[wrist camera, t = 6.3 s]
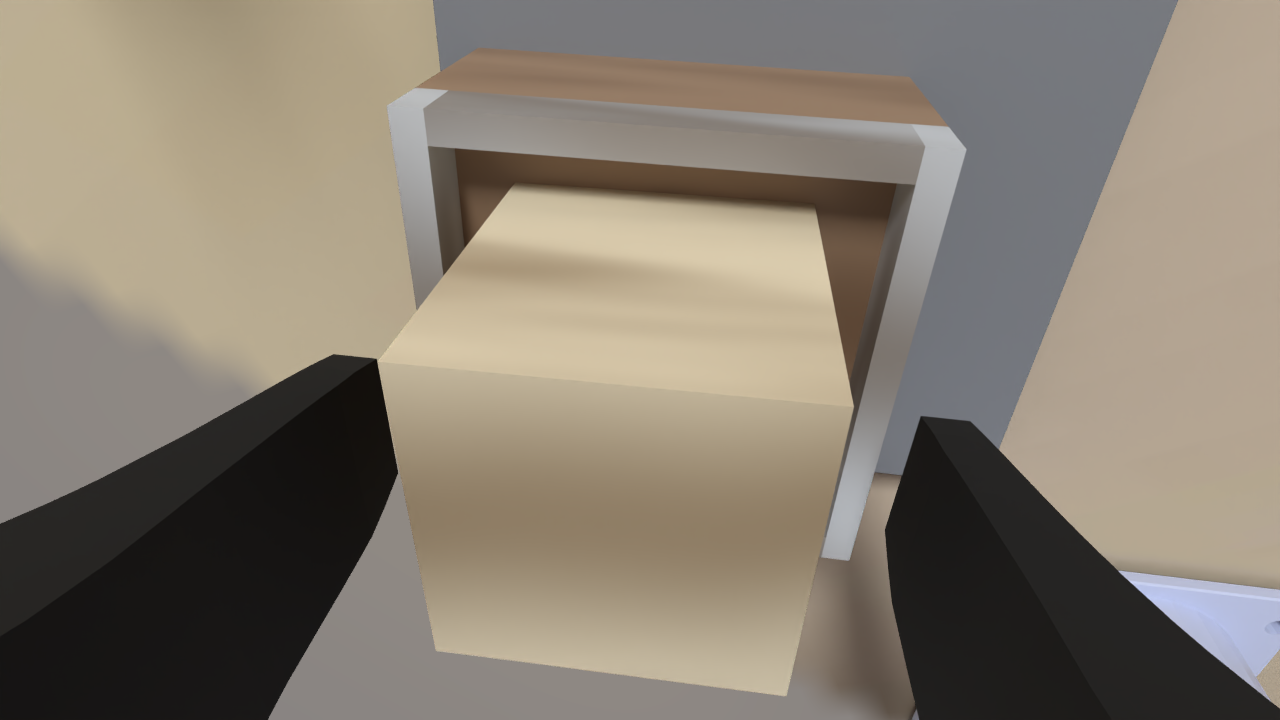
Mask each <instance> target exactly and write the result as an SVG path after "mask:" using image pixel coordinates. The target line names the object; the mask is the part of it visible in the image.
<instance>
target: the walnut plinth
mask: <svg viewBox="0 0 1280 720" xmlns="http://www.w3.org/2000/svg"><path fill="white" fill-rule="evenodd" d="M387 111H388V118H389V125H390V131H391V138H392V145H393V152H394V159H395V166H396V172H397V179H398V186H399V193H400V200H401V206H402V213H403V220H404V227H405V234H406V240H407V247H408V254H409V261H410V268H411V274H412V281H413V288H414V295H415V302H416V309H417V310H418V309H419V307H420V306H421V305H422V303H423V302H424V301H425V299H426V298H427V297H428V295H429V294H430V293H431V292H432V290H433V289H434V288H435V286H436V285H437V284H438V282H439V281H440V280H441V279H442V277H443V276H444V275H445V273H446V272H447V271H448V269H449V268H450V267H451V266H452V264H453V263H454V262H455V260H456V259H457V258H458V256H459V255H460V254H461V252H462V251H463V250H464V249H465V247H466V246H467V245H468V243H469V242H470V241H471V239H472V238H473V237H474V236H475V234H476V233H477V232H478V230H479V229H480V228H481V226H482V225H483V224H484V222H485V221H486V220H487V219H488V217H489V216H490V215H491V213H492V212H493V211H494V209H495V208H496V207H497V206H498V204H499V203H500V202H501V200H502V199H503V198H504V196H505V195H506V194H507V193H508V191H509V190H510V189H511V187H512V186H513V185H514V183H529V184H543V185H557V186H571V187H585V188H599V189H613V190H627V191H641V192H655V193H669V194H683V195H697V196H711V197H725V198H739V199H753V200H767V201H781V202H795V203H809V204H815V209H816V214H817V219H818V224H819V230H820V235H821V240H822V245H823V250H824V255H825V261H826V266H827V271H828V276H829V281H830V286H831V291H832V297H833V302H834V307H835V312H836V317H837V322H838V328H839V333H840V338H841V343H842V348H843V353H844V359H845V364H846V369H847V374H848V379H849V384H850V389H851V395H852V400H853V405H854V409H853V413H852V417H851V422H850V426H849V430H848V434H847V439H846V443H845V447H844V452H843V456H842V460H841V464H840V469H839V473H838V477H837V482H836V486H835V490H834V494H833V499H832V503H831V507H830V512H829V516H828V520H827V524H826V529H825V533H824V537H823V541H822V546H821V550H820V554H819V557H822V558H831V559H839V560H847V561H849V560H850V556H851V553H852V549H853V546H854V542H855V539H856V535H857V532H858V528H859V525H860V521H861V518H862V514H863V511H864V507H865V504H866V500H867V497H868V493H869V490H870V486H871V483H872V479H873V476H874V472H875V469H876V465H877V462H878V458H879V455H880V451H881V448H882V444H883V441H884V437H885V434H886V430H887V427H888V423H889V420H890V416H891V413H892V409H893V406H894V402H895V399H896V395H897V392H898V388H899V385H900V381H901V378H902V374H903V371H904V367H905V364H906V360H907V357H908V353H909V350H910V346H911V343H912V339H913V335H914V332H915V328H916V325H917V321H918V318H919V314H920V311H921V307H922V304H923V300H924V297H925V293H926V290H927V286H928V283H929V279H930V276H931V272H932V269H933V265H934V262H935V258H936V255H937V251H938V248H939V244H940V241H941V237H942V234H943V230H944V227H945V223H946V220H947V216H948V213H949V209H950V206H951V202H952V199H953V195H954V192H955V188H956V185H957V181H958V178H959V174H960V171H961V167H962V164H963V160H964V157H965V153H966V150H967V149H966V148H965V147H964V146H963V144H962V143H961V142H960V140H959V139H958V138H957V137H956V135H955V134H954V133H953V132H952V130H951V129H950V128H949V126H948V125H947V124H946V123H945V121H944V120H943V119H942V118H941V116H940V115H939V114H938V113H937V111H936V110H935V109H934V107H933V106H932V105H931V104H930V102H929V101H928V100H927V99H926V97H925V96H924V95H923V93H922V92H921V91H920V90H919V88H918V87H917V86H916V85H915V83H914V82H913V81H912V79H911V78H910V77H904V76H889V75H875V74H860V73H845V72H830V71H816V70H801V69H786V68H771V67H757V66H742V65H727V64H712V63H698V62H683V61H668V60H653V59H639V58H624V57H609V56H594V55H580V54H565V53H550V52H535V51H521V50H506V49H491V48H477V49H476V50H474V51H473V52H471V53H469V54H468V55H466V56H465V57H463V58H461V59H460V60H458V61H457V62H455V63H454V64H452V65H450V66H449V67H447V68H446V69H444V70H443V71H441V72H439V73H438V74H436V75H435V76H433V77H431V78H430V79H428V80H427V81H425V82H424V83H422V84H420V85H419V86H417V87H416V88H414V89H413V90H411V91H409V92H408V93H406V94H405V95H403V96H401V97H400V98H398V99H397V100H395V101H394V102H392V103H390V104H389V105H387Z"/></svg>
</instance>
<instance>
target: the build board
mask: <svg viewBox="0 0 1280 720" xmlns="http://www.w3.org/2000/svg"><path fill="white" fill-rule="evenodd" d="M1177 2H1178V0H433V4H434V14H435V23H436V33H437V42H438V52H439V61H440V71H443V70H444V69H446V68H447V67H449V66H450V65H452V64H454V63H455V62H457V61H458V60H460V59H461V58H463V57H465V56H466V55H468V54H469V53H471V52H473V51H474V50H476V49H477V48H491V49H506V50H521V51H535V52H550V53H565V54H580V55H594V56H609V57H624V58H639V59H653V60H668V61H683V62H698V63H712V64H727V65H742V66H757V67H771V68H786V69H801V70H816V71H830V72H845V73H860V74H875V75H889V76H904V77H910V78H911V79H912V81H913V82H914V83H915V85H916V86H917V87H918V88H919V90H920V91H921V92H922V93H923V95H924V96H925V97H926V99H927V100H928V101H929V102H930V104H931V105H932V106H933V107H934V109H935V110H936V111H937V113H938V114H939V115H940V116H941V118H942V119H943V120H944V121H945V123H946V124H947V125H948V126H949V128H950V129H951V130H952V132H953V133H954V134H955V135H956V137H957V138H958V139H959V140H960V142H961V143H962V144H963V146H964V147H965V148H966V149H967V150H966V153H965V157H964V160H963V164H962V167H961V171H960V174H959V178H958V181H957V185H956V188H955V192H954V195H953V199H952V202H951V206H950V209H949V213H948V216H947V220H946V223H945V227H944V230H943V234H942V237H941V241H940V244H939V248H938V251H937V255H936V258H935V262H934V265H933V269H932V272H931V276H930V279H929V283H928V286H927V290H926V293H925V297H924V300H923V304H922V307H921V311H920V314H919V318H918V321H917V325H916V328H915V332H914V335H913V339H912V343H911V346H910V350H909V353H908V357H907V360H906V364H905V367H904V371H903V374H902V378H901V381H900V385H899V388H898V392H897V395H896V399H895V402H894V406H893V409H892V413H891V416H890V420H889V423H888V427H887V430H886V434H885V437H884V441H883V444H882V448H881V451H880V455H879V458H878V462H877V465H876V469H875V472H878V473H887V474H896V475H902V474H903V471H904V468H905V464H906V461H907V458H908V455H909V452H910V448H911V445H912V442H913V439H914V436H915V433H916V429H917V426H918V423H919V420H920V417H921V416H927V417H937V418H946V419H956V420H965V421H971V422H972V423H973V424H974V425H975V426H976V427H977V428H978V429H979V430H980V431H981V432H982V433H983V434H984V435H985V436H986V437H987V438H988V439H989V440H990V441H991V442H992V443H993V444H994V445H995V446H996V447H997V448H998V449H999V447H1000V444H1001V442H1002V439H1003V437H1004V434H1005V432H1006V429H1007V427H1008V424H1009V422H1010V419H1011V417H1012V414H1013V412H1014V409H1015V407H1016V404H1017V402H1018V399H1019V397H1020V394H1021V392H1022V389H1023V387H1024V384H1025V382H1026V379H1027V377H1028V374H1029V372H1030V369H1031V367H1032V364H1033V362H1034V359H1035V357H1036V354H1037V352H1038V349H1039V347H1040V344H1041V342H1042V339H1043V337H1044V334H1045V332H1046V329H1047V327H1048V324H1049V322H1050V319H1051V317H1052V314H1053V312H1054V309H1055V307H1056V304H1057V302H1058V299H1059V297H1060V294H1061V292H1062V289H1063V287H1064V284H1065V282H1066V279H1067V277H1068V274H1069V272H1070V269H1071V267H1072V264H1073V262H1074V259H1075V257H1076V254H1077V252H1078V249H1079V247H1080V244H1081V242H1082V239H1083V237H1084V234H1085V232H1086V229H1087V227H1088V224H1089V222H1090V219H1091V217H1092V214H1093V212H1094V209H1095V207H1096V204H1097V202H1098V199H1099V197H1100V194H1101V192H1102V189H1103V187H1104V184H1105V182H1106V179H1107V177H1108V174H1109V172H1110V169H1111V167H1112V164H1113V162H1114V159H1115V157H1116V154H1117V152H1118V149H1119V147H1120V144H1121V142H1122V139H1123V137H1124V134H1125V132H1126V129H1127V127H1128V124H1129V122H1130V119H1131V117H1132V114H1133V112H1134V109H1135V107H1136V104H1137V102H1138V99H1139V97H1140V94H1141V92H1142V89H1143V87H1144V84H1145V82H1146V79H1147V77H1148V74H1149V72H1150V69H1151V67H1152V64H1153V62H1154V59H1155V57H1156V54H1157V52H1158V49H1159V47H1160V44H1161V42H1162V39H1163V37H1164V34H1165V32H1166V29H1167V27H1168V24H1169V22H1170V19H1171V17H1172V14H1173V12H1174V9H1175V7H1176V4H1177Z"/></svg>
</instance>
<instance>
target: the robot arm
mask: <svg viewBox="0 0 1280 720" xmlns="http://www.w3.org/2000/svg"><path fill="white" fill-rule="evenodd" d="M397 474H398V469H397V464H396V459H395V454H394V448H393V443H392V438H391V432H390V427H389V422H388V417H387V411H386V406H385V401H384V395H383V390H382V385H381V380H380V374H379V369H378V364H377V359H373V358H364V357H354V356H345V355H335V354H333V355H331V356H329V357H327V358H325V359H323V360H321V361H318V362H317V363H315V364H313V365H311V366H309V367H307V368H305V369H303V370H301V371H299V372H297V373H296V374H294V375H292V376H290V377H288V378H286V379H285V380H283V381H281V382H279V383H278V384H276V385H274V386H272V387H270V388H269V389H267V390H265V391H263V392H262V393H260V394H258V395H256V396H254V397H253V398H251V399H249V400H247V401H246V402H244V403H242V404H240V405H238V406H237V407H235V408H233V409H231V410H229V411H228V412H226V413H224V414H222V415H220V416H219V417H217V418H215V419H213V420H211V421H210V422H208V423H206V424H204V425H203V426H201V427H199V428H197V429H196V430H194V431H192V432H190V433H188V434H186V435H184V436H182V437H180V438H179V439H177V440H175V441H173V442H171V443H169V444H167V445H165V446H163V447H161V448H159V449H157V450H155V451H153V452H151V453H150V454H148V455H146V456H144V457H142V458H140V459H138V460H136V461H134V462H132V463H130V464H128V465H126V466H124V467H122V468H120V469H118V470H116V471H115V472H112V473H111V474H109V475H107V476H105V477H103V478H101V479H99V480H97V481H95V482H92V483H91V484H88V485H86V486H84V487H82V488H80V489H78V490H76V491H74V492H72V493H69V494H67V495H65V496H63V497H61V498H59V499H56V500H54V501H52V502H50V503H47V504H45V505H43V506H41V507H38V508H36V509H34V510H31V511H29V512H27V513H24V514H22V515H20V516H17V517H15V518H13V519H10V520H8V521H6V522H4V523H1V524H0V720H268V718H269V716H270V714H271V712H272V711H273V709H274V707H275V705H276V703H277V701H278V699H279V697H280V696H281V694H282V692H283V690H284V688H285V686H286V684H287V682H288V680H289V679H290V677H291V676H292V673H293V672H294V670H295V669H296V667H297V665H298V663H299V662H300V660H301V658H302V657H303V655H304V653H305V652H306V650H307V648H308V646H309V645H310V643H311V641H312V639H313V638H314V636H315V634H316V633H317V631H318V629H319V628H320V626H321V624H322V622H323V621H324V619H325V617H326V616H327V614H328V612H329V611H330V609H331V607H332V605H333V604H334V601H335V600H336V599H337V597H338V595H339V594H340V592H341V590H342V588H343V587H344V585H345V583H346V581H347V580H348V578H349V576H350V574H351V573H352V571H353V569H354V568H355V566H356V564H357V562H358V561H359V558H360V557H361V555H362V554H363V552H364V550H365V548H366V546H367V544H368V543H369V541H370V539H371V537H372V535H373V533H374V531H375V528H376V526H377V524H378V521H379V519H380V517H381V514H382V512H383V510H384V507H385V505H386V502H387V500H388V497H389V495H390V492H391V490H392V487H393V485H394V482H395V479H396V477H397ZM885 536H886V548H887V560H888V571H889V580H890V589H891V598H892V604H893V609H894V613H895V618H896V623H897V627H898V631H899V636H900V640H901V645H902V649H903V653H904V658H905V662H906V666H907V671H908V675H909V679H910V683H911V688H912V692H913V696H914V700H915V705H916V711H915V713H914V715H913V718H912V720H1280V708H1278V707H1277V706H1276V705H1274V704H1273V703H1272V702H1271V701H1270V699H1269V697H1268V696H1267V694H1266V693H1265V691H1264V689H1263V688H1262V686H1261V685H1260V683H1259V682H1258V680H1257V678H1256V677H1257V675H1258V674H1259V673H1260V672H1261V671H1262V670H1263V668H1264V667H1265V666H1266V665H1267V664H1268V662H1269V661H1270V660H1271V659H1272V658H1273V656H1274V655H1275V654H1276V653H1277V652H1278V650H1279V649H1280V590H1277V589H1269V588H1260V587H1252V586H1244V585H1235V584H1227V583H1218V582H1210V581H1202V580H1193V579H1185V578H1176V577H1168V576H1160V575H1151V574H1143V573H1134V572H1126V571H1118V570H1117V569H1116V568H1115V567H1114V566H1113V565H1111V564H1110V563H1109V562H1108V561H1107V560H1106V559H1105V558H1104V557H1103V556H1102V555H1101V554H1100V553H1099V552H1098V551H1097V550H1096V549H1095V548H1094V547H1093V546H1092V545H1091V544H1090V543H1089V542H1088V541H1087V540H1086V539H1085V538H1084V537H1083V536H1082V535H1081V534H1080V533H1079V532H1078V531H1077V530H1076V529H1075V528H1074V527H1073V526H1072V525H1071V524H1070V523H1069V522H1068V521H1067V520H1066V519H1065V518H1064V517H1063V516H1062V515H1061V514H1060V513H1059V512H1058V511H1057V510H1056V509H1055V508H1054V507H1053V506H1052V505H1051V504H1050V503H1049V502H1048V501H1047V500H1046V499H1045V498H1044V497H1043V496H1042V495H1041V494H1040V493H1039V492H1038V490H1037V489H1036V488H1035V487H1034V486H1033V485H1032V484H1031V483H1030V482H1029V481H1028V480H1027V479H1026V478H1025V477H1024V476H1023V475H1022V474H1021V473H1020V472H1019V471H1018V470H1017V468H1016V467H1015V466H1014V465H1013V464H1012V463H1011V462H1010V461H1009V460H1008V459H1007V458H1006V457H1005V456H1004V455H1003V454H1002V453H1001V452H1000V451H999V450H998V448H997V447H996V446H995V445H994V444H993V443H992V442H991V441H990V440H989V439H988V438H987V437H986V436H985V435H984V434H983V433H982V432H981V431H980V430H979V429H978V428H977V427H976V426H975V425H974V424H973V423H972V422H971V421H965V420H956V419H946V418H937V417H927V416H921V417H920V420H919V423H918V426H917V429H916V433H915V436H914V439H913V442H912V445H911V448H910V452H909V455H908V458H907V461H906V464H905V468H904V471H903V474H902V477H901V480H900V484H899V487H898V490H897V493H896V496H895V499H894V503H893V506H892V509H891V512H890V515H889V519H888V522H887V525H886V528H885Z"/></svg>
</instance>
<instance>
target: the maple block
mask: <svg viewBox="0 0 1280 720" xmlns="http://www.w3.org/2000/svg"><path fill="white" fill-rule="evenodd" d="M378 366H379V371H380V376H381V381H382V386H383V391H384V395H385V400H386V405H387V410H388V415H389V420H390V425H391V430H392V435H393V440H394V445H395V450H396V455H397V460H398V465H399V470H400V475H401V480H402V485H403V489H404V495H405V500H406V504H407V509H408V514H409V519H410V524H411V529H412V534H413V539H414V544H415V549H416V554H417V559H418V564H419V569H420V574H421V579H422V584H423V589H424V593H425V599H426V604H427V608H428V613H429V618H430V623H431V628H432V633H433V638H434V643H435V648H436V651H442V652H450V653H457V654H465V655H473V656H480V657H488V658H496V659H503V660H511V661H519V662H526V663H534V664H542V665H550V666H557V667H565V668H573V669H581V670H588V671H595V672H603V673H611V674H619V675H626V676H634V677H641V678H649V679H657V680H665V681H672V682H680V683H688V684H695V685H703V686H711V687H719V688H726V689H733V690H742V691H749V692H756V693H764V694H772V695H779V696H787V691H788V687H789V683H790V678H791V674H792V670H793V666H794V661H795V657H796V653H797V648H798V644H799V640H800V636H801V631H802V627H803V623H804V619H805V614H806V610H807V606H808V601H809V597H810V593H811V589H812V584H813V580H814V576H815V571H816V567H817V563H818V559H819V554H820V550H821V546H822V541H823V537H824V533H825V529H826V524H827V520H828V516H829V512H830V507H831V503H832V499H833V494H834V490H835V486H836V482H837V477H838V473H839V469H840V464H841V460H842V456H843V452H844V447H845V443H846V439H847V434H848V430H849V426H850V422H851V417H852V413H853V409H854V405H853V400H852V395H851V389H850V384H849V379H848V374H847V369H846V364H845V359H844V353H843V348H842V343H841V338H840V333H839V328H838V322H837V317H836V312H835V307H834V302H833V297H832V291H831V286H830V281H829V276H828V271H827V266H826V261H825V255H824V250H823V245H822V240H821V235H820V230H819V224H818V219H817V214H816V209H815V204H809V203H795V202H781V201H767V200H753V199H739V198H725V197H711V196H697V195H683V194H669V193H655V192H641V191H627V190H613V189H599V188H585V187H571V186H557V185H543V184H529V183H514V185H513V186H512V187H511V189H510V190H509V191H508V193H507V194H506V195H505V196H504V198H503V199H502V200H501V202H500V203H499V204H498V206H497V207H496V208H495V209H494V211H493V212H492V213H491V215H490V216H489V217H488V219H487V220H486V221H485V222H484V224H483V225H482V226H481V228H480V229H479V230H478V232H477V233H476V234H475V236H474V237H473V238H472V239H471V241H470V242H469V243H468V245H467V246H466V247H465V249H464V250H463V251H462V252H461V254H460V255H459V256H458V258H457V259H456V260H455V262H454V263H453V264H452V266H451V267H450V268H449V269H448V271H447V272H446V273H445V275H444V276H443V277H442V279H441V280H440V281H439V282H438V284H437V285H436V286H435V288H434V289H433V290H432V292H431V293H430V294H429V295H428V297H427V298H426V299H425V301H424V302H423V303H422V305H421V306H420V307H419V309H418V310H417V311H416V312H415V314H414V315H413V316H412V318H411V319H410V320H409V322H408V323H407V324H406V325H405V327H404V328H403V329H402V331H401V332H400V333H399V335H398V336H397V337H396V339H395V340H394V341H393V342H392V344H391V345H390V346H389V348H388V349H387V350H386V352H385V353H384V354H383V355H382V357H381V358H380V359H379V361H378Z"/></svg>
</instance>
